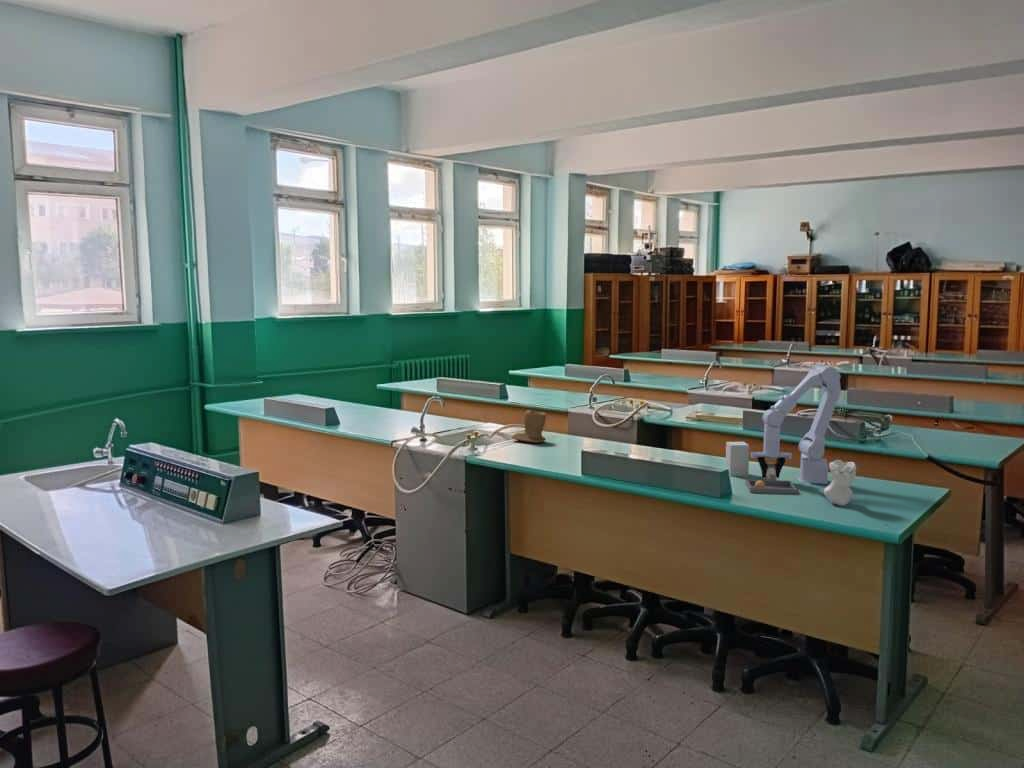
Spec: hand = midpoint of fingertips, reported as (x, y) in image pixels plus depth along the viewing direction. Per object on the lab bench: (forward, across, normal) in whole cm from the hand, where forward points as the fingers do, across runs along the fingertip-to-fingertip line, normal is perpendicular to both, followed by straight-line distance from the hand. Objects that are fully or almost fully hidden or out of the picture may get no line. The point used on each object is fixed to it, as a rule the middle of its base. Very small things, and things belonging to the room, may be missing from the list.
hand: (770, 477), depth 297 cm
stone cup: (+2, -99, +66) cm, 119 cm away
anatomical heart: (+2, +18, -29) cm, 34 cm away
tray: (+2, -2, -12) cm, 12 cm away
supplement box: (+2, -11, +10) cm, 15 cm away
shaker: (+2, 0, 0) cm, 2 cm away
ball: (+1, -6, -14) cm, 15 cm away
